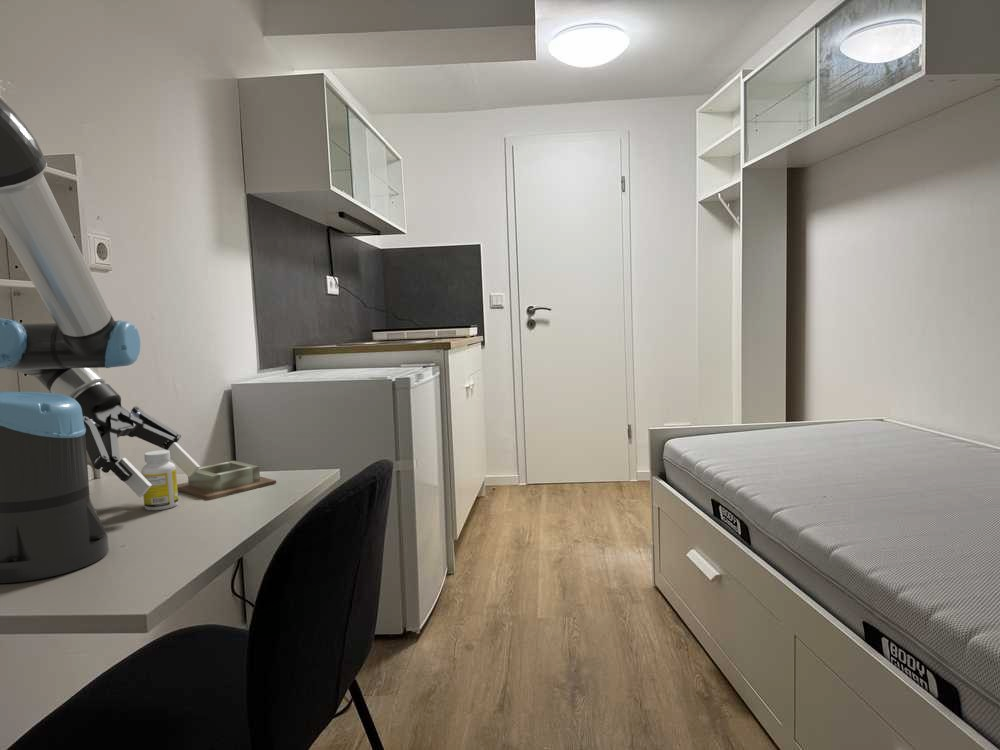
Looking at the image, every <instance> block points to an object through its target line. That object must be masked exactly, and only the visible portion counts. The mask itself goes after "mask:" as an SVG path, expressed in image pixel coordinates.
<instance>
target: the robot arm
mask: <svg viewBox="0 0 1000 750" xmlns="http://www.w3.org/2000/svg"><path fill="white" fill-rule="evenodd" d="M47 167H48V163H47V160H46V157H45V156H44V153H43V151H42V149H41V148H40V145H39V143H38V141H37V139H36V138H35V137H34V136H33V134H32V132H31V131H30V129H29V128H28V126H27V125H26V124H25V122H23V120H22V119H21V118H20V117H19V116H18V115H17V113H16V112H15V110H13V109H12V108H11V107H10V105H8V104H7V103H6V102H5V101H4V100H3V99H2V98H1V97H0V229H1V231H2V233H3V234H4V236H5V238H6V239H7V241H8V242H9V245H10V246H11V249H12V250H13V252H14V253H15V255H16V257H17V259H18V260H19V261H20V264H21V265H22V267H23V269H24V270H25V272H26V274H27V276H28V278H29V280H30V281H31V283H32V285H33V286H34V288H35V290H36V291H37V293H38V295H39V296H40V299H41V300H42V302H43V303H44V305H45V307H46V309H47V310H48V312H49V314H50V316H51V318H52V320H54V322H52V323H51V322H48V323H46V322H45V323H40V322H39V323H21V322H19V321H18V320H14V319H7V318H2V317H0V369H6V370H10V371H13V372H18V373H21V374H25V375H28V376H33V377H34V378H35V379H36V380H37V381H39V382H40V383H41V384H42V385H43V386H44V387H45V388H46V390H48V391H49V392H40V391H0V584H13V583H21V582H22V583H23V582H29V581H35V580H37V581H38V580H41V579H48V578H50V577H55V576H60V575H63V574H66V573H70V572H73V571H77V570H79V569H82V568H84V567H88V566H89V565H91V564H94V563H96V562H98V561H99V560H101V559H102V558H104V557H106V556H107V554H108V553H109V551H110V549H109V548H110V547H109V537H108V534H107V533H108V532H107V531H106V530H105V527H104V525H103V523H102V521H101V519H100V517H99V515H98V513H97V510H96V509H95V506H94V505H93V503H92V500H91V496H90V495H91V493H90V482H89V467H88V457H89V459H90V462H91V464H92V467H93V468H94V469H95V470H101V472H103V473H106V474H108V473H109V472H110V471H111V472H112V473H113V474H114V475H115V476H116V477H117V478H118V479H119V480H120V481H122V482H123V483H124V484H126V485H127V486H128V487H129V489H130V490H132V491H133V492H134V494H136V496H138V497H139V498H141V497H144V496H143V495H144V494H145V493H146V492H147V490H148V489H149V488H150V487H151V486H152V484H151V483H150V482H149V481H148V480H147V479H146V478H145V477H144V476H143V475H142V474H141V471H139V470H138V469H137V468H136V467H135V466H134V465H133V464H132V463H131V462H130V461H129V460H128V459H127V458H126V457H123V458H121V457H120V450H119V449H120V448H119V441H118V438H120V437H126V436H127V437H130V438H134V437H136V438H137V439H141V440H143V441H145V442H148V443H149V444H152V445H155V446H157V447H159V448H161V449H162V450H168V451H170V460H171V462H172V463H173V464H174V465H175V466H177V467H178V468H179V469H180V470H181V471H182V472H183V473H184V474H185V475H186V476H187V478H188V477H191V476H192V475H193V474H194V473H195V472H196V471H197V469H198V468H199V467H201V465H199V463H198V462H197V461H196V460H195V459H194V458H193V457H191V455H190V454H189V453H188V452H187V451H186V450H185V449H184V447H182V446H181V445H180V444H179V442H178V441H179V440H180V439H181V438H182V434H180V433H179V432H177V431H175V430H174V429H172V428H171V427H169V426H168V425H166V424H164V423H162V422H161V421H159V420H158V419H156V418H155V417H153V416H151V415H150V414H147V412H145V411H144V410H143V409H142V408H141V407H139V406H138V405H135V406H133V408H132V409H130V410H127V409H126V408H124V407H123V406H122V396H121V395H120V394H119V393H117V391H116V390H115V389H114V388H113V387H111V385H110V384H108V383H106V380H105V378H103V377H102V376H101V375H100V374H99V373H98V372H97V371H96V370H95V368H96V369H97V368H100V369H101V368H105V369H110V368H119V367H127V366H128V367H129V366H131V365H133V364H134V363H135V362H136V361H137V360H138V357H139V355H140V352H141V338H140V337H141V336H140V333H139V331H138V328H137V326H136V325H134V324H133V323H132V322H130V321H128V320H126V321H124V320H114V317H113V316H112V313H111V311H110V309H109V308H108V306H107V304H106V302H105V299H104V297H103V296H102V295H103V294H102V293H101V291H100V289H99V287H98V285H97V283H96V281H95V279H94V276H93V275H92V273H91V271H90V269H89V267H88V264H87V263H86V261H85V260H86V259H85V258H84V256H83V253H82V252H81V250H80V248H79V245H78V243H77V242H76V240H75V237H74V235H73V233H72V232H71V229H70V227H69V225H68V223H67V221H66V219H65V216H64V214H63V213H62V211H61V208H60V207H59V205H58V202H57V201H56V198H55V196H54V193H53V192H52V190H51V188H50V185H49V184H48V182H47V179H46V177H45V175H44V173H45V172H46V170H47ZM87 456H88V457H87Z"/></svg>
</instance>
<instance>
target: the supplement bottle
mask: <svg viewBox="0 0 1000 750" xmlns="http://www.w3.org/2000/svg"><path fill="white" fill-rule="evenodd" d="M170 460H171V458H170V451H168V450H166V449H160V450H152V451H147V452H145V453H144V462H145V463H146V464H145V465H144V466H143V467H142V468H141V471H140V473H141V474H142V475H143V476H144V477H145V478H146V479H147V480H148V481H149V482H150V483H151V484H152V486H151V487H150V488H149V489H148V490H147V492H146V493H145V494H144V495H143V496H142V497H143V504H144V505H143V506H144V508H145V510H147V511H163V510H167V509H171V508H174V507H176V506H178V504H179V491H178V490H177V484H178V482H177V481H178V480H177V469H176V464H175V463H174V462H172V461H170Z"/></svg>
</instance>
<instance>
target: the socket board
mask: <svg viewBox="0 0 1000 750" xmlns="http://www.w3.org/2000/svg"><path fill="white" fill-rule="evenodd" d="M260 472H261V471H260V466H259V465H254V464H250V463H246V462H242V461H237V460H230V461H226V462H220V463H214V464H210V465H205V466H200V467H199V468H198V469H197V471H196V472H195V473H194V474H193V475H192V476H191V477H188V476H187V481H186V482H182V483H177V490H178V492H182V493H185V494H189V495H191V496H195V497H198V498H202V499H205V500H208V501H209V500H214V499H218V498H222V497H226V496H231V495H234V493H235V494H238V493H243V492H246V491H251V490H254V489H258V488H262V487H267V486H271V485H270V484H272V485H275V484H274V483H276V484H277V480H275V479H272V478H269V477H263V476H261V475H260Z"/></svg>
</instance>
